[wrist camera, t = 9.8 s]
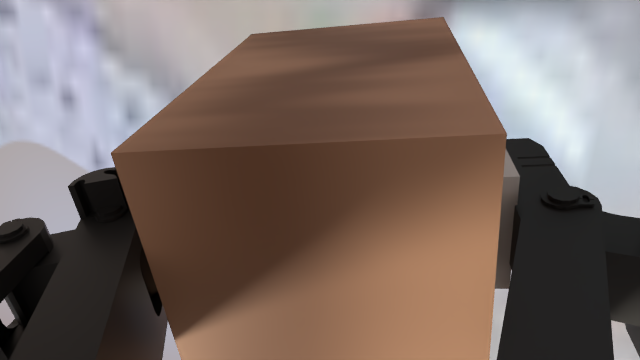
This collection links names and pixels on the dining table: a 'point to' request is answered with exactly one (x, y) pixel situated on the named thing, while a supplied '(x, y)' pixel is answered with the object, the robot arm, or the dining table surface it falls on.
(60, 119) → the dining table surface
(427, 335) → the wooden block
